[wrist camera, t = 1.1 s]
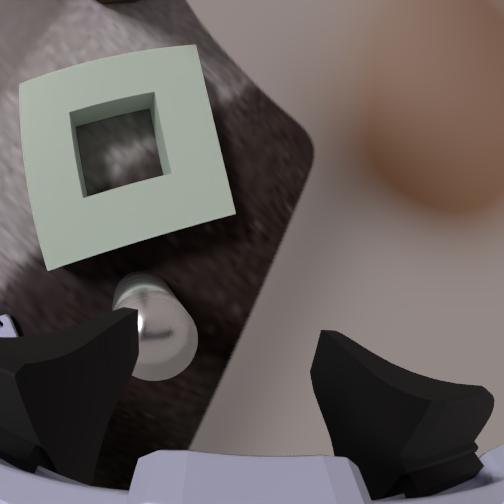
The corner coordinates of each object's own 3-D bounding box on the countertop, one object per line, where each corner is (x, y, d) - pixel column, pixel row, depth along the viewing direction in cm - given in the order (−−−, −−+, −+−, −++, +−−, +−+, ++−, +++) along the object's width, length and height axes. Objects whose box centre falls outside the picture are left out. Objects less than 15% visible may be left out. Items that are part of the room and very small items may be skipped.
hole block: (57, 264, 17) (47, 271, 14) (30, 100, 15) (19, 83, 12) (221, 215, 21) (236, 213, 19) (186, 64, 19) (195, 44, 16)
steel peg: (125, 333, 19) (130, 391, 12) (106, 280, 19) (96, 313, 11) (177, 316, 21) (208, 363, 14) (160, 262, 20) (182, 285, 13)
